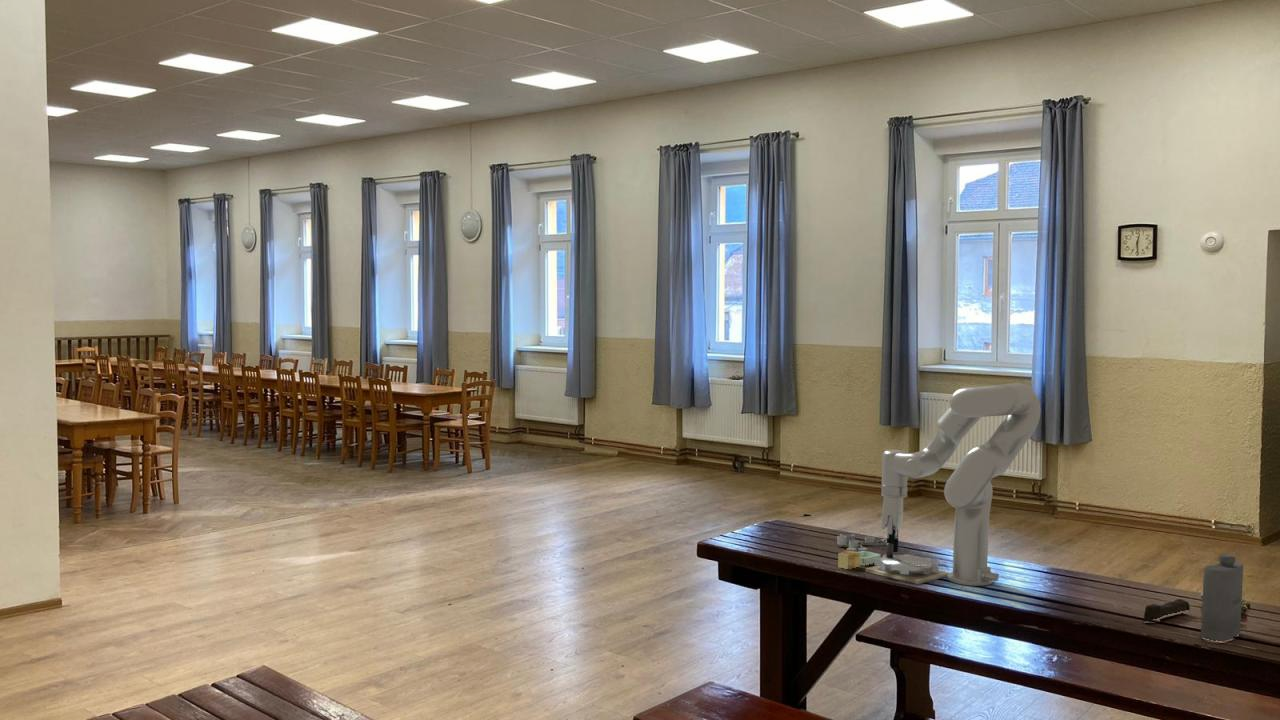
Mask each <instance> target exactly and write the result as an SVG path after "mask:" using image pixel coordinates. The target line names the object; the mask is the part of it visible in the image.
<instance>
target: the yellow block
mask: <svg viewBox="0 0 1280 720" xmlns="http://www.w3.org/2000/svg"><path fill="white" fill-rule="evenodd" d="M837 555H838V557H837V568H838V567H839V568H838V569H841V568H844V569H843V570H845V569H850V570H853V569H852V568H855V569H857V568H856V567H859V568H860V567H861V565H860V553H859V552H854V551H847V550H844V551H842V552H838V554H837Z"/></svg>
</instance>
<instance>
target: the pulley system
mask: <svg viewBox="0 0 1280 720" xmlns="http://www.w3.org/2000/svg"><path fill="white" fill-rule="evenodd" d="M836 537H837V539H836V542H837V543H836V544H837V545H839V546H843V545H846V546H849V547H847V548H846V550H845V551H854V552H861V551H867V552H869V551H868V548H866V546H862V545H873V546H872V547H880V546H881V547H883V545H886V544H887V538H886V539H884V538H883V539H879V540H877V541H875V536H865V537H864V542H863V541H859V540H857V539H856V538H855V537H856V535H855V534H852V533H840V534H839V535H837V536H836ZM884 540H886V541H884ZM879 542H880V543H879ZM882 542H883V543H882ZM858 543H863V544H858ZM846 546H845V547H846ZM859 546H860V547H859ZM857 549H858V550H857Z"/></svg>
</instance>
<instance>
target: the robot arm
mask: <svg viewBox="0 0 1280 720" xmlns="http://www.w3.org/2000/svg"><path fill="white" fill-rule="evenodd" d="M1001 416H1003V417H1004V416H1005V417H1006V418H1005V419H1004V420H1003V421H1002V422H1001V423H1000V424H999V426H998V427H997V428H996V430H995V431H994V433H993V434H992V435H991V437H990V438H989V439H988V440H987V441H986V442H985V443H982V444H979V445H977V446H974V447H973V448H971V449H970V450H969V451H968V452H967V453H966V454H965V456H964V457H963V458H962V460H961V461H960V463H959V464H958V465H957V467H956V468H955V470H953V472H952V473H951V475H950V476H949V477H948V479H947V481H946V483H945V485H944V488H943V494H944V497H945V500H946V502H947V503H948V504H949V505H950V506H951V507H952V508H955V512H954V525H953V549H952V550H953V553H952V572H949V574H947V577H946V579H947V581H949V582H951V583H954V584H958V585H963V586H970V587H971V586H972V587H973V586H974V587H981V586H982V587H985V586H990V585H991V584H993V582H998V581H999V577H1000V574H999V573H996V572H992V571H991V568H992V567H990V566H988V558H989V557H988V555H989V554H988V553H989V534H990V533H989V532H990V531H989V529H990V515H991V513H990V512H991V507H992V506H991V505H992V501H993V500H992V499H993V491H994V490H993V485H992V483H991V480H992V479H993V478H995V477H999V476H1000V475H1003V474H1005V473H1006V471H1008V469H1010V466H1011V465H1012V463H1013V462H1014V460H1015V459H1016V458H1017V456H1018V455H1019V453H1020V452H1021V451H1022V450H1023V447H1024V446H1025V445H1026V443H1027V441H1028V440H1029V439H1030V437H1032V435H1033V433H1034V431H1036V429H1037V426H1038V425H1039V423H1040V418H1041V403H1040V401H1039V397H1038V396H1037V394H1036V392H1035V390H1033V389H1032V388H1031V387H1030V386H1028V385H1027V384H1024V383H1021V382H1020V383H1018V382H1014V383H1013V382H1012V383H1007V384H1006V383H1004V384H996V385H984V386H964V387H960V388H958V389H957V390H955V391H954V392H953V394H951V397H950V400H949V408H948V409H946V411H945V412H944V414H942V415H941V417H940V418H939V419H937V422H936V427H937V431H936V433H935V435H934V437H933V438H932V440H931V441H930V442H929V443H928V444H927V445H926V446H925V448H923V449H922V450H920V451H915V452H910V453H909V452H906V451H905V450H903V449H902V450H901V449H886V450H884V452H883V453H882V458H881V459H882V461H881V462H882V463H881V464H882V465H881V466H882V469H881V494H880V495H881V496H882V497H883V501H882V511H881V523H880V524H881V527H880V528H881V529H882V530H885V529H886V539H887V543H893V553H898V551H899V531H900V528H901V527H902V526H903V519H904V518H903V517H904V498H907V497H908V478H910V479H921V478H924V477H928V476H931V475H934V474H936V473H937V472H938V471H939V470H940V469H941V468H942V467H943V466H944V465H945V464H946V463H947V462H948V461H949V459H950V458H951V457H952V456H953V454H954V453H955V452H956V450H957V448H959V445H960V442H961V441H962V440H963V439H964V438H965V436H966V435H967V434H968V433H969V432H970V431H971V429H972V428H973V427H974V426H975V425H976V424H977V423H978V422H979V421H980V420H981V419H982V418H983V417H984V418H985V417H1001Z"/></svg>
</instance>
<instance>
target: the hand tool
mask: <svg viewBox="0 0 1280 720" xmlns="http://www.w3.org/2000/svg"><path fill="white" fill-rule="evenodd" d="M1190 609H1191V608H1190V604H1189V602H1188V601H1186V600H1184V599H1182V598H1178V599H1175V600H1174V601H1170V602H1167V603H1164V604H1161V605H1158V604H1153V603H1152V604H1150V605H1149V604H1148V605H1147V606H1145V608H1144V615H1143V622H1144V621H1149V620H1153V619H1157V618H1160V617H1162V616H1164V615H1168V614H1172V613H1177V612H1180V611H1185V610H1189V611H1190Z"/></svg>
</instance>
